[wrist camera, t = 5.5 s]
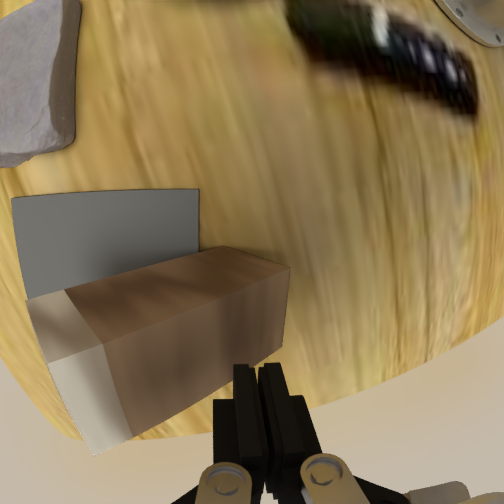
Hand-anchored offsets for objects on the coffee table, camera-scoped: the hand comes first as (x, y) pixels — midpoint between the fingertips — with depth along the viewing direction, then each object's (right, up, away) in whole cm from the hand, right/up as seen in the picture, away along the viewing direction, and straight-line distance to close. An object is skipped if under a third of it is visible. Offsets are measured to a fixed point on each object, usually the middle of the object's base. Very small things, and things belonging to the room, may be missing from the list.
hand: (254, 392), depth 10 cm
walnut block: (0, +3, +8) cm, 8 cm away
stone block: (-16, +17, +4) cm, 24 cm away
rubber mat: (-10, +3, +8) cm, 14 cm away
